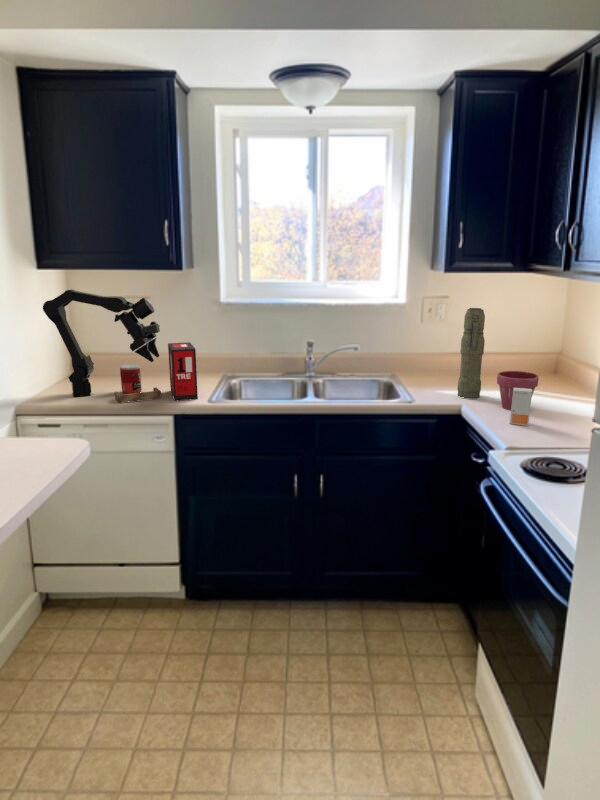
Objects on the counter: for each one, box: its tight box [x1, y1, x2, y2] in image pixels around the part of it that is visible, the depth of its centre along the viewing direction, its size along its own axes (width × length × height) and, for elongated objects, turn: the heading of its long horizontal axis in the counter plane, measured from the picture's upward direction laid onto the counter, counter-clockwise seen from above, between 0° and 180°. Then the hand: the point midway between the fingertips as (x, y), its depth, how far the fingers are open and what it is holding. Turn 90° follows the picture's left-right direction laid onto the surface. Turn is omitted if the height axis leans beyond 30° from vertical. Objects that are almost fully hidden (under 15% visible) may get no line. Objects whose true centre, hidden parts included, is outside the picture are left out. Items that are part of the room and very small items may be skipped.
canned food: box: [119, 364, 143, 395], centre depth 236 cm, size 8×8×11 cm
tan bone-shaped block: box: [114, 387, 162, 404], centre depth 227 cm, size 16×7×3 cm, turn 117°
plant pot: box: [496, 370, 539, 411], centre depth 214 cm, size 14×14×13 cm
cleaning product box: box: [167, 342, 199, 402], centre depth 231 cm, size 16×9×20 cm, turn 18°
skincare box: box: [509, 388, 533, 427], centre depth 195 cm, size 6×4×12 cm
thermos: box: [457, 307, 486, 399], centre depth 228 cm, size 9×12×35 cm
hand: (155, 359), depth 230 cm, fingers open, 9 cm apart
